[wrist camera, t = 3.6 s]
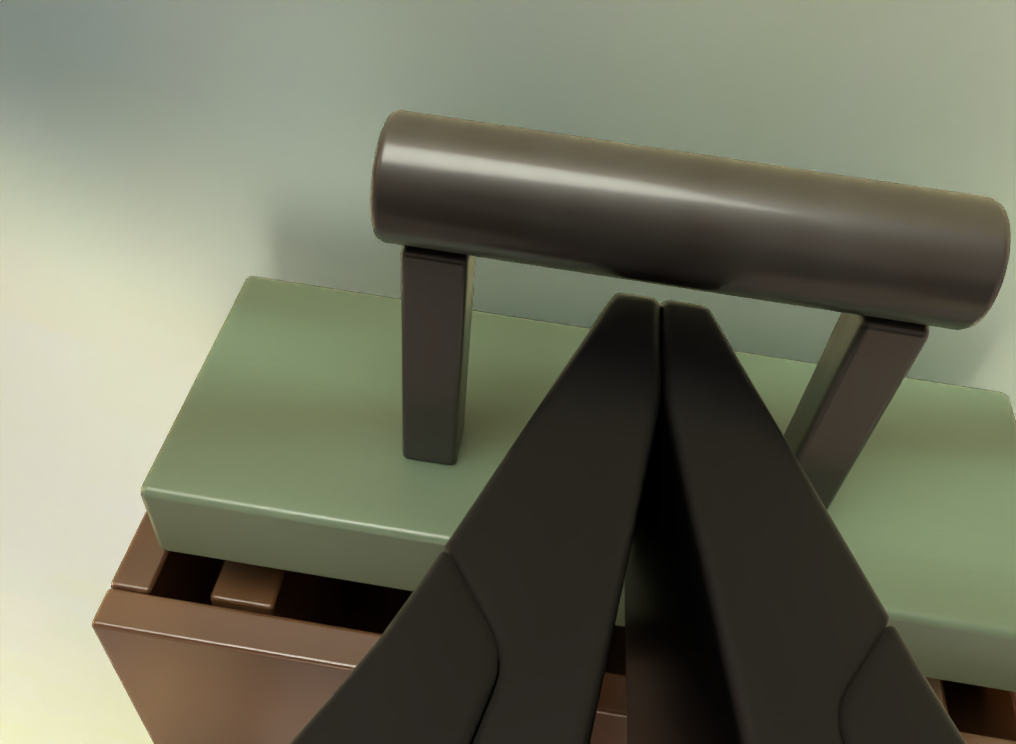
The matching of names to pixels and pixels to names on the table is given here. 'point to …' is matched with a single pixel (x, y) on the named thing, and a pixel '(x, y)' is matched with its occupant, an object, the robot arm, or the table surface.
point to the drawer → (548, 348)
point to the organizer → (304, 662)
